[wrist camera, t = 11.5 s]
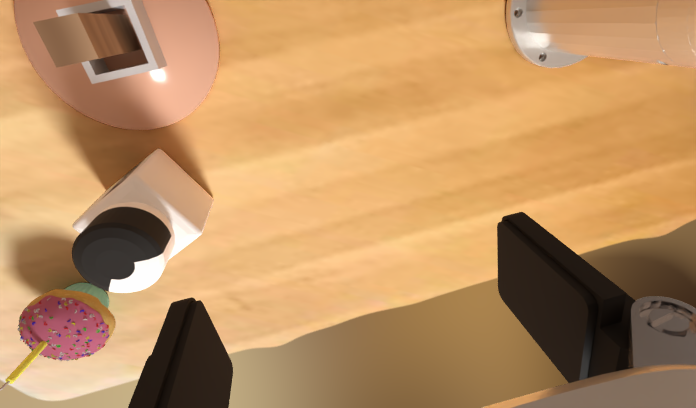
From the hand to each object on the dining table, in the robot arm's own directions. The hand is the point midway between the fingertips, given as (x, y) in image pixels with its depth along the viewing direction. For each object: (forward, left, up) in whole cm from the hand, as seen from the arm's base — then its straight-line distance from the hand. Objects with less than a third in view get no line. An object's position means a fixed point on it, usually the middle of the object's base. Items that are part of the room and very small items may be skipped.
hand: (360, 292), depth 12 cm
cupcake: (+30, +16, -31) cm, 46 cm away
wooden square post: (+14, -9, -30) cm, 34 cm away
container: (+17, +6, -31) cm, 35 cm away
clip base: (+14, -9, -30) cm, 35 cm away
